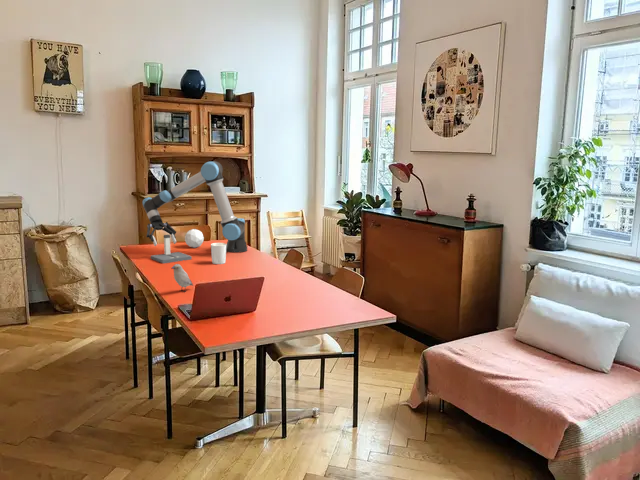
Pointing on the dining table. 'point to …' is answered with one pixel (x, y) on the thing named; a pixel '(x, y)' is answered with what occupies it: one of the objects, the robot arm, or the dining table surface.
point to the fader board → (171, 257)
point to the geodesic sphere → (194, 238)
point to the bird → (181, 276)
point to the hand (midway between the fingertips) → (165, 243)
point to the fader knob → (166, 244)
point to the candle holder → (218, 253)
